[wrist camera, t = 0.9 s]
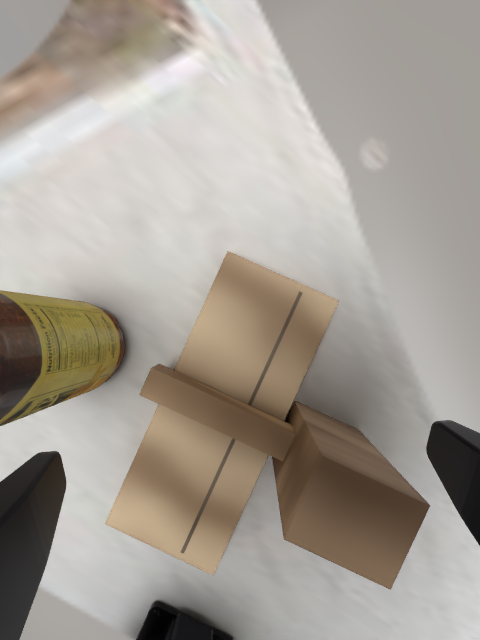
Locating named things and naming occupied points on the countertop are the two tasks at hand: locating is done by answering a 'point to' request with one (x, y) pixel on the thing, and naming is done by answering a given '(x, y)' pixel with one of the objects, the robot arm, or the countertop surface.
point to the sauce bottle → (52, 351)
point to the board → (237, 382)
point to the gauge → (314, 476)
